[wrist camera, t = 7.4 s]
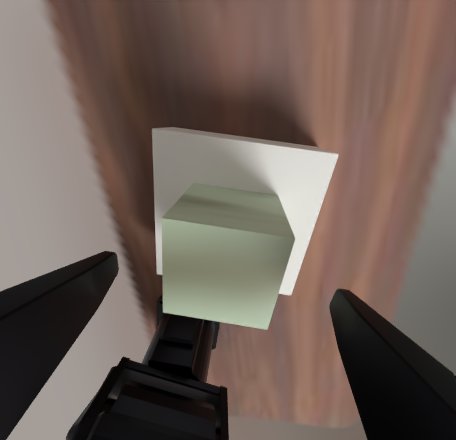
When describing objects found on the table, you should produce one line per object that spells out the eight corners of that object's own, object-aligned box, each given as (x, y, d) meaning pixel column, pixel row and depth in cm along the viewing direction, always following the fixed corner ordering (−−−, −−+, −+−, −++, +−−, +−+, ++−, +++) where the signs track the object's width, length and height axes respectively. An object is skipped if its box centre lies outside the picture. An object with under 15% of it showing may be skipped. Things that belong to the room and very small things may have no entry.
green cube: (261, 264, 14) (267, 329, 10) (189, 252, 14) (162, 312, 10) (278, 195, 12) (295, 238, 8) (193, 182, 12) (161, 217, 8)
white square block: (282, 262, 19) (290, 295, 15) (174, 245, 19) (156, 274, 16) (316, 146, 15) (338, 154, 11) (175, 127, 15) (152, 128, 11)
